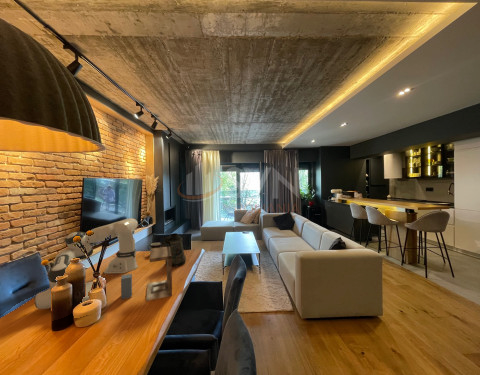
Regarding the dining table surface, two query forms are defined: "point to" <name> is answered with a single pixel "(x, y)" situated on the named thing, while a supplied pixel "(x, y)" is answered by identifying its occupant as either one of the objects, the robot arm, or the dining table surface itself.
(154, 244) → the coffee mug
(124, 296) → the grey upright block
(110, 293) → the dining table surface
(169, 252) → the overhang shelf
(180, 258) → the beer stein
